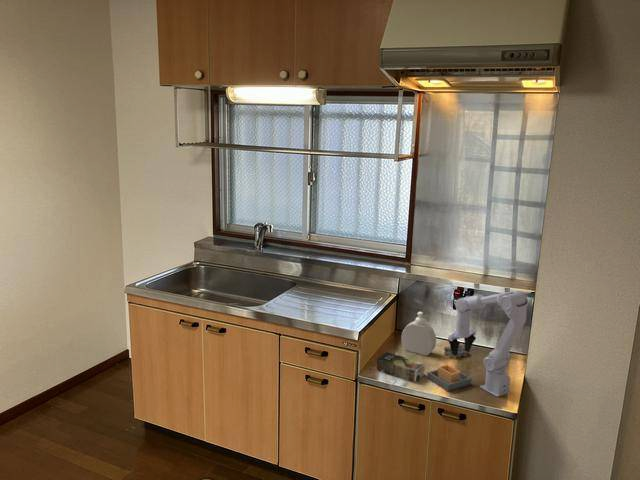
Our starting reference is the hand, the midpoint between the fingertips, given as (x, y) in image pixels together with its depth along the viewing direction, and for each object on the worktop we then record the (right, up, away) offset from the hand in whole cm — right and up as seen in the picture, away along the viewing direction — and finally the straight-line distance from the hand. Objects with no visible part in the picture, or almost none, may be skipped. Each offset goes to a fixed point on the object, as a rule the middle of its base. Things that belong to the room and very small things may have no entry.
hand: (460, 352), depth 245 cm
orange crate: (-7, -10, -7) cm, 14 cm away
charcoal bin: (-7, -11, -7) cm, 15 cm away
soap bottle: (-15, -4, +22) cm, 27 cm away
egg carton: (+2, -5, +20) cm, 21 cm away
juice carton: (-26, -9, +1) cm, 28 cm away
